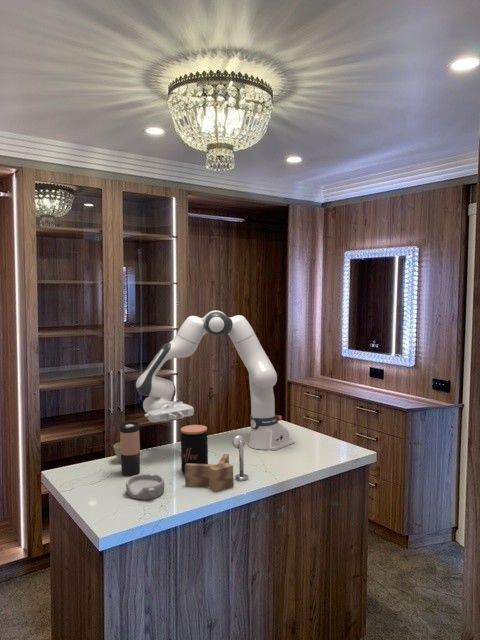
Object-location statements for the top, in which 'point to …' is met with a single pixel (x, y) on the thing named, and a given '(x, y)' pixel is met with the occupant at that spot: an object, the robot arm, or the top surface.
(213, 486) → the wooden l-shaped bracket
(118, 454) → the flower pot
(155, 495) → the dish
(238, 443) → the metal ball stand
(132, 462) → the travel mug
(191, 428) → the coffee jar
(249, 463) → the top surface
